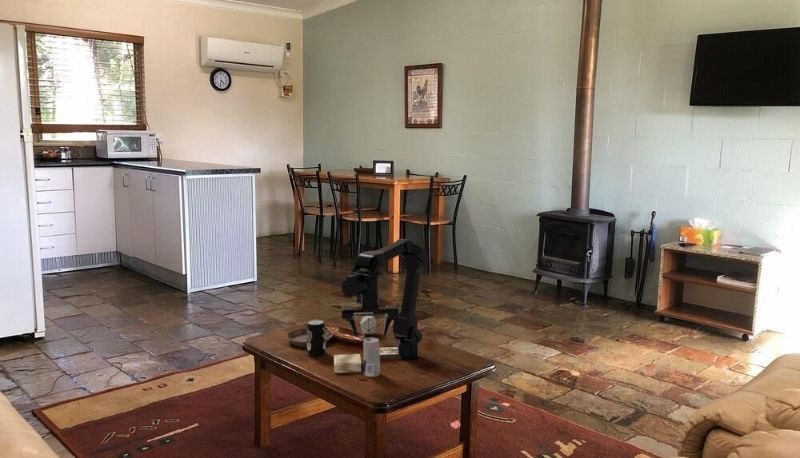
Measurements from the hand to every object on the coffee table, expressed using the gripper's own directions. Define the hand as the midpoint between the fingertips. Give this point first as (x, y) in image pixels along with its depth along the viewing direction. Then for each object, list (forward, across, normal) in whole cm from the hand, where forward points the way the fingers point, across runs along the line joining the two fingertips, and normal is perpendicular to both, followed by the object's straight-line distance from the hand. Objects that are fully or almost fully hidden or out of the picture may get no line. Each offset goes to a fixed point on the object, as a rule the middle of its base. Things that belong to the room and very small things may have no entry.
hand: (370, 336), depth 207 cm
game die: (+13, -1, -41) cm, 43 cm away
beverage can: (+13, +19, -21) cm, 32 cm away
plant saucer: (+14, +22, -35) cm, 44 cm away
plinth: (+13, +8, -7) cm, 17 cm away
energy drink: (+13, 0, 0) cm, 13 cm away
